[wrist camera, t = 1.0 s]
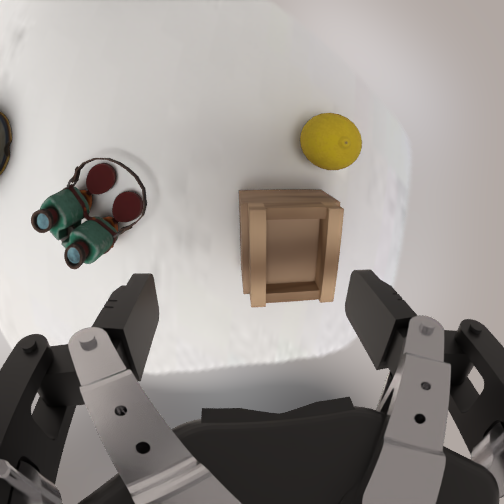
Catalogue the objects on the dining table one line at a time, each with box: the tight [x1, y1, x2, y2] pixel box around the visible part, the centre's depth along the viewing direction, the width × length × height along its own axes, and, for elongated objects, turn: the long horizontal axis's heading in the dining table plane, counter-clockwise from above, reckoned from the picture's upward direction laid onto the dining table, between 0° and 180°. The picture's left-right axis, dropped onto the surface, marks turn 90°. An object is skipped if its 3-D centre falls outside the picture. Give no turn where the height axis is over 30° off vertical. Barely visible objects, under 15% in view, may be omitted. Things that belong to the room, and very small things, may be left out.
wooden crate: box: [239, 189, 344, 307], centre depth 28 cm, size 9×9×8 cm
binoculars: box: [31, 158, 147, 269], centre depth 24 cm, size 9×11×10 cm
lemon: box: [300, 113, 362, 170], centre depth 24 cm, size 6×6×8 cm
